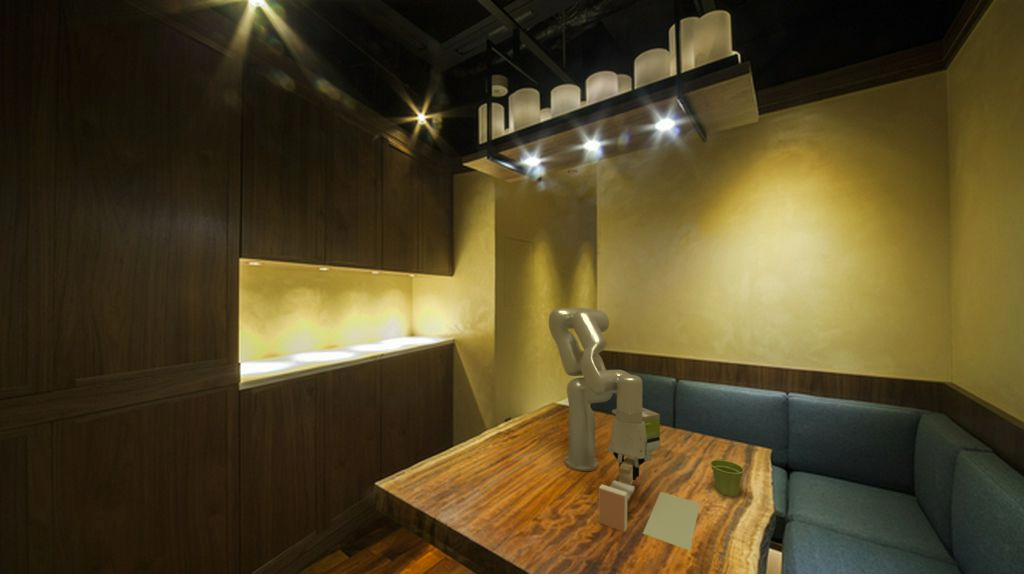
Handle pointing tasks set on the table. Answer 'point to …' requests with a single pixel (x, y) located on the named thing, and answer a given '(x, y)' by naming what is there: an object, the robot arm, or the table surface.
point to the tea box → (652, 428)
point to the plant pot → (727, 477)
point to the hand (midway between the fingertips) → (629, 476)
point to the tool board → (673, 520)
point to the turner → (625, 477)
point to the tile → (613, 507)
